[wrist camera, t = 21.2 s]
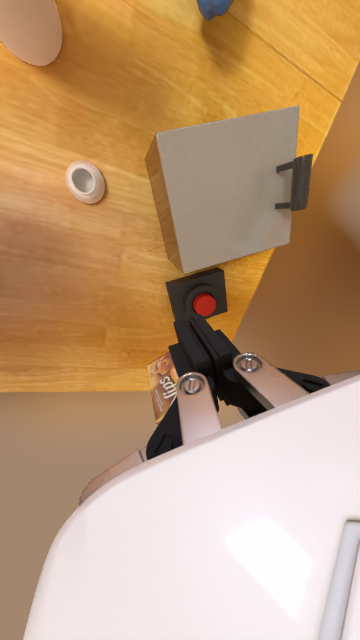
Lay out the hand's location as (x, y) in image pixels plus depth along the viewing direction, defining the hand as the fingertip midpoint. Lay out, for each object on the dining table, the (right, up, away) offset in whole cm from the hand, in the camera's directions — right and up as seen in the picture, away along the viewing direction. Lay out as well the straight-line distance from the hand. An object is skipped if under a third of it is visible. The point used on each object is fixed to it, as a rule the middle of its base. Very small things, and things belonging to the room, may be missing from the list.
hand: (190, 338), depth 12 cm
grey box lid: (+6, +17, +13) cm, 22 cm away
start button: (+4, +4, +26) cm, 26 cm away
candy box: (-4, -8, +35) cm, 36 cm away
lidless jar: (-14, +21, +17) cm, 30 cm away
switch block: (+3, +6, +29) cm, 30 cm away
